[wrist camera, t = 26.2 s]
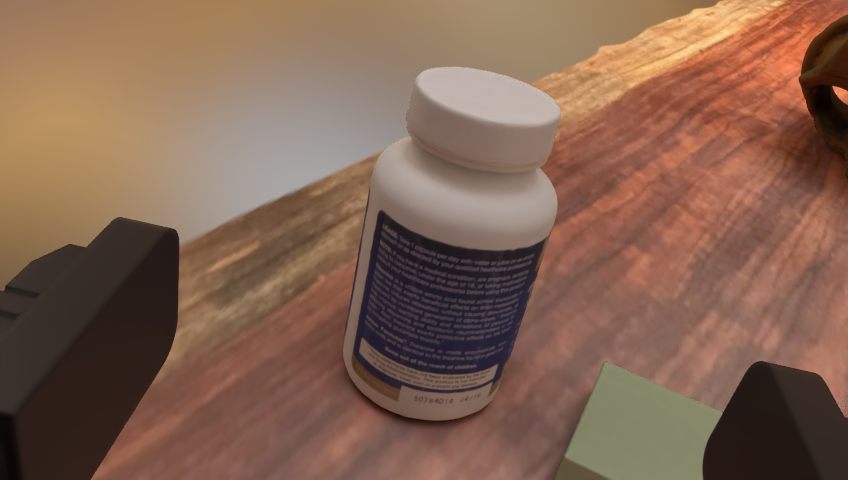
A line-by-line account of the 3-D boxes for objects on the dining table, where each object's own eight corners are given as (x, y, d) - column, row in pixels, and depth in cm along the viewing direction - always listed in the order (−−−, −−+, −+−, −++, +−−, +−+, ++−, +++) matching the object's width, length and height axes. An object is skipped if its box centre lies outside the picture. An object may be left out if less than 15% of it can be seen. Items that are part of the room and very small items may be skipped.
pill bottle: (526, 415, 23) (628, 139, 18) (367, 439, 21) (433, 133, 16) (461, 311, 27) (530, 62, 22) (323, 322, 25) (364, 50, 20)
